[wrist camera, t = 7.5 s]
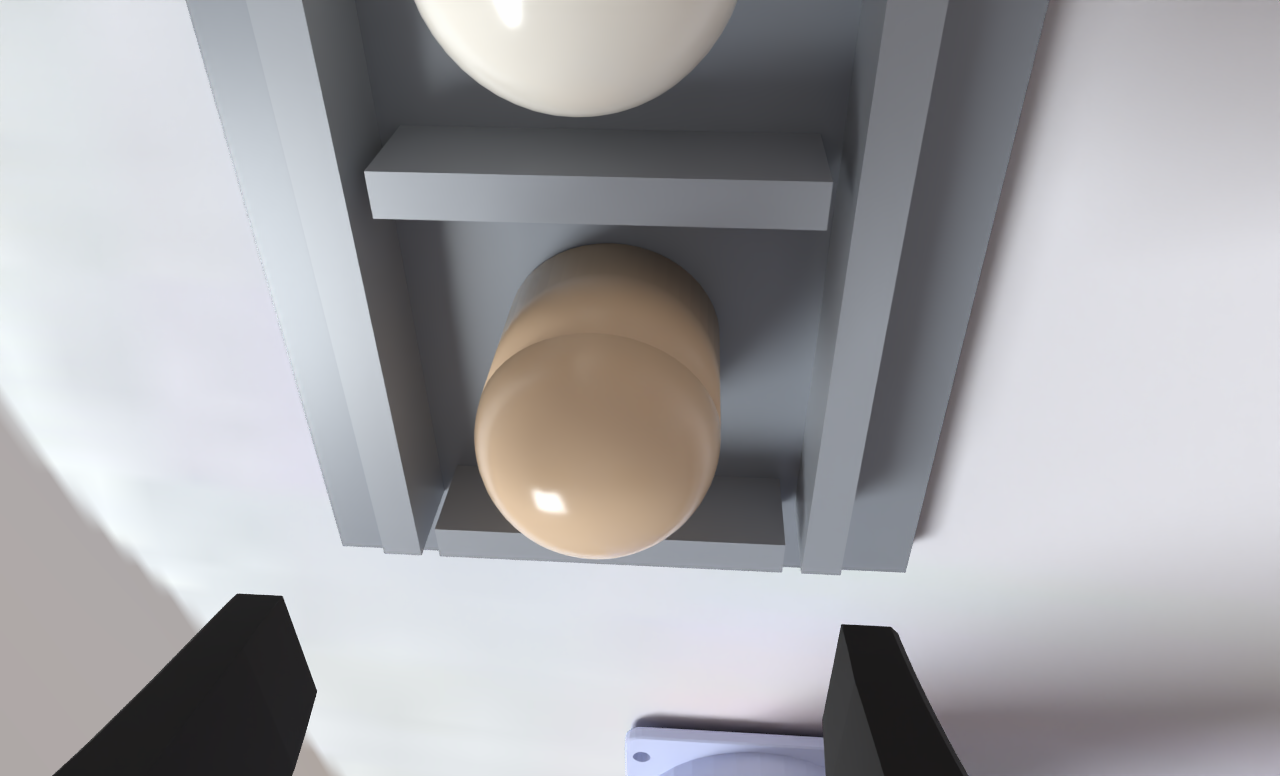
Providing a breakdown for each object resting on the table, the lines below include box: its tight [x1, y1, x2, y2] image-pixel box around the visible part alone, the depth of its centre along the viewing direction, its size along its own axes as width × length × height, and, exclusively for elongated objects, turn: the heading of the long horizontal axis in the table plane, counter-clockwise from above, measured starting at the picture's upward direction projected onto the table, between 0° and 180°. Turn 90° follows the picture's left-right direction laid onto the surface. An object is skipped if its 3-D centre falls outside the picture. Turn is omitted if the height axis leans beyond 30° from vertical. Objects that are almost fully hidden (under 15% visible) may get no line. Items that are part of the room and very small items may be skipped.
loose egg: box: [474, 243, 721, 559], centre depth 16 cm, size 4×4×5 cm
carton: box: [186, 0, 1049, 575], centre depth 15 cm, size 20×14×3 cm, turn 0°
